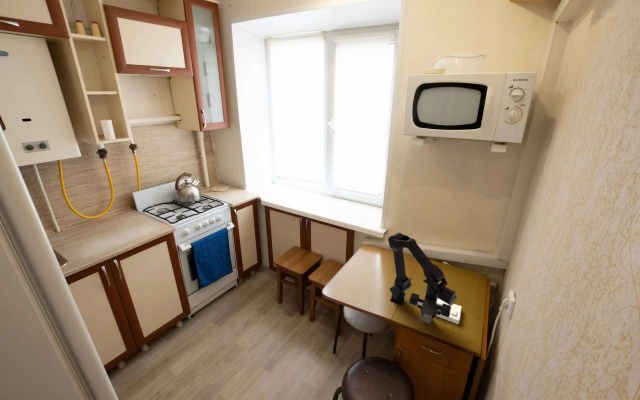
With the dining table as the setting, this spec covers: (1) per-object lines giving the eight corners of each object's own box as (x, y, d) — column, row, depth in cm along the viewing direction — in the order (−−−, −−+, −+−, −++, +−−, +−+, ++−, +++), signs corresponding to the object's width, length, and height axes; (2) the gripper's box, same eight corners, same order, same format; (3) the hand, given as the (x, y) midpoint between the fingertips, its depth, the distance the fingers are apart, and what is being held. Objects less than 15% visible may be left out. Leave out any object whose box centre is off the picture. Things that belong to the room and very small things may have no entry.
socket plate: (428, 313, 143) (429, 308, 142) (432, 300, 152) (433, 295, 151) (458, 324, 137) (459, 319, 136) (460, 310, 146) (461, 305, 144)
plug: (421, 321, 139) (424, 308, 136) (423, 315, 142) (425, 303, 139) (430, 324, 137) (432, 311, 134) (431, 318, 140) (434, 306, 137)
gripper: (408, 296, 131) (404, 320, 137) (450, 311, 122) (444, 336, 128) (413, 282, 140) (410, 306, 146) (453, 295, 131) (448, 320, 137)
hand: (427, 317), depth 139 cm, fingers closed on plug, 4 cm apart
